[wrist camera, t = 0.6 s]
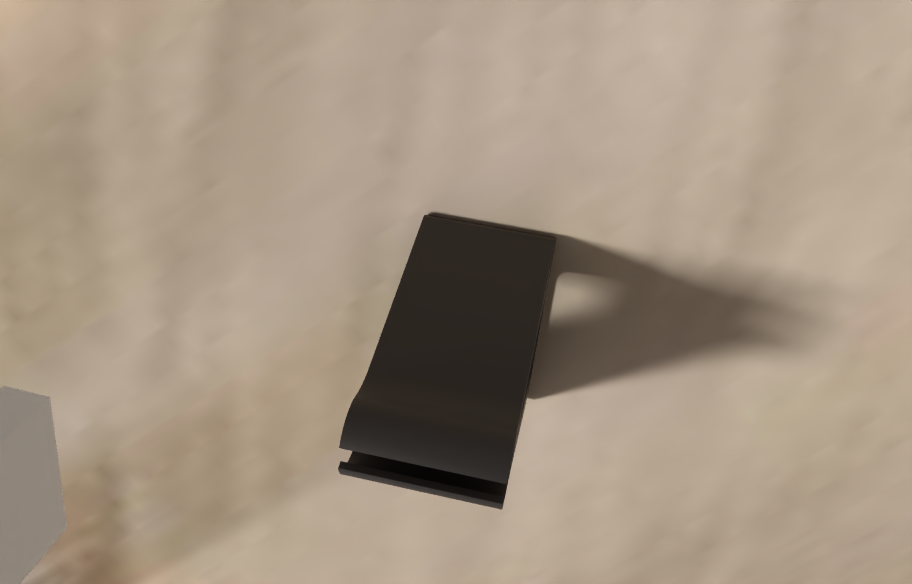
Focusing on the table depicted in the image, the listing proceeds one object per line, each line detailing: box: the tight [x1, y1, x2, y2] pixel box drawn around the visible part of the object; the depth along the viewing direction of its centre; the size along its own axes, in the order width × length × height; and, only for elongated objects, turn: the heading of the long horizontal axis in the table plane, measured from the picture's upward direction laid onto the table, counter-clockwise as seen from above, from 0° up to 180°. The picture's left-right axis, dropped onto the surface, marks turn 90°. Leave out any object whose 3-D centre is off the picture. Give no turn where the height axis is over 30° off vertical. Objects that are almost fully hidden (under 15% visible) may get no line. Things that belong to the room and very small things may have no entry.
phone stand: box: [338, 215, 556, 509], centre depth 34 cm, size 9×6×12 cm, turn 173°
